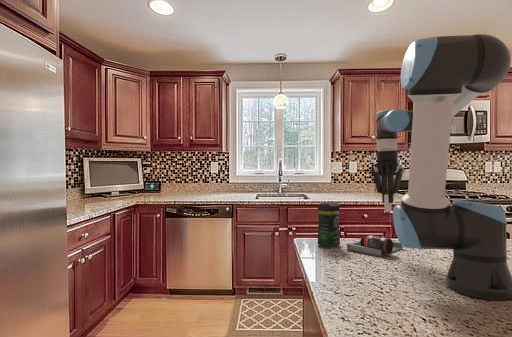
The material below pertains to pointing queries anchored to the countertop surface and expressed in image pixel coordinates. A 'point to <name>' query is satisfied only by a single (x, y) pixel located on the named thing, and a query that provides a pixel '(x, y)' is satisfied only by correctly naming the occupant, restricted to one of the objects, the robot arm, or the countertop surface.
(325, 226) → the coffee jar
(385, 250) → the supplement bottle
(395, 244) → the tray
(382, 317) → the countertop surface
